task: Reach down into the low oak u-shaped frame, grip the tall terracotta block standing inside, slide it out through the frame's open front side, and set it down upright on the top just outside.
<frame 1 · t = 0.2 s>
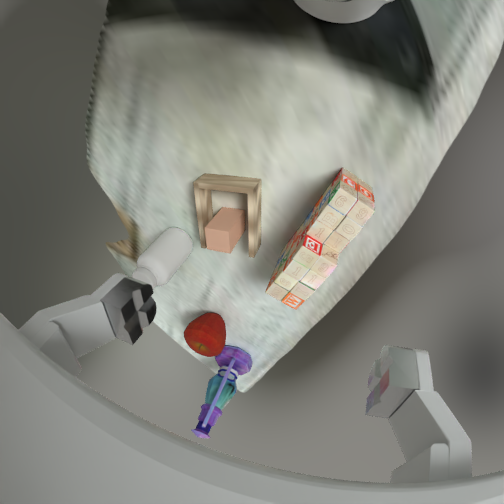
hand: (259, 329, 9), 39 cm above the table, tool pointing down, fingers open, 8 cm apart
terracotta block: (226, 229, 52), in the oak u-shaped frame
lantern: (236, 354, 85), on the table
oak u-shaped frame: (233, 218, 55), on the table
apple: (216, 316, 76), on the table
stack of blocks: (323, 221, 49), on the table
pill bottle: (179, 240, 63), on the table
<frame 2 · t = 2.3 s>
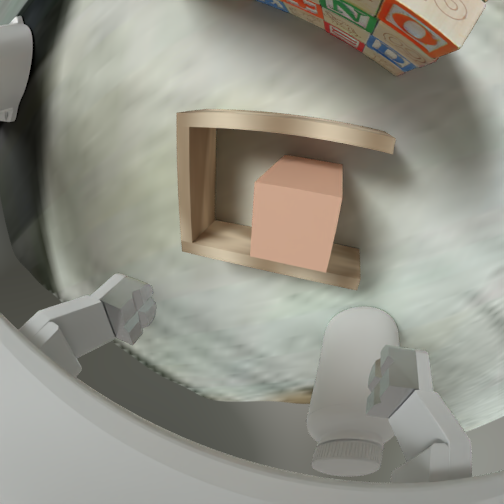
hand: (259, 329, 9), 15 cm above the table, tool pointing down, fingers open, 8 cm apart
terracotta block: (303, 203, 18), in the oak u-shaped frame
oak u-shaped frame: (310, 186, 21), on the table
pill bottle: (361, 331, 27), on the table
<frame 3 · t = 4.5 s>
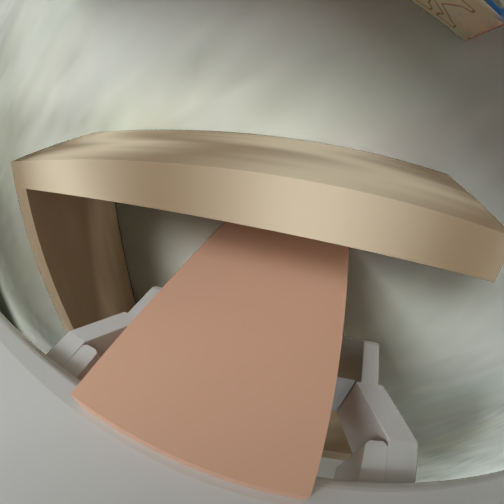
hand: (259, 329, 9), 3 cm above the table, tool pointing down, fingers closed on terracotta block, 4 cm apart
terracotta block: (246, 358, 8), in the oak u-shaped frame, touching gripper
oak u-shaped frame: (279, 282, 11), on the table
pill bottle: (355, 442, 17), on the table
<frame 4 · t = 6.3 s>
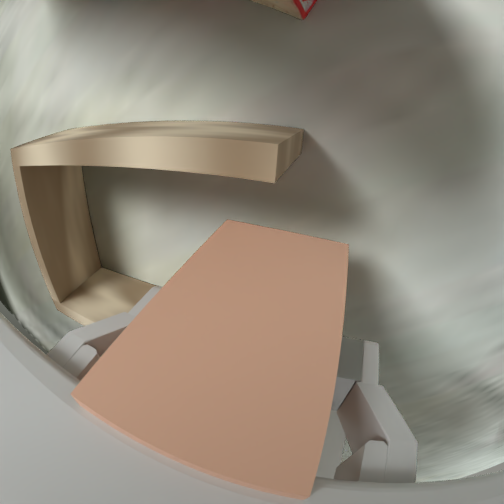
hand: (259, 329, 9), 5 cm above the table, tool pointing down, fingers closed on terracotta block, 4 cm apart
terracotta block: (246, 358, 8), point 6 cm above the table, touching gripper
oak u-shaped frame: (191, 230, 14), on the table
pill bottle: (300, 406, 20), on the table
when the fingers open (4 cm above the table, at t = 8.6 s): terracotta block drops 1 cm, on the table.
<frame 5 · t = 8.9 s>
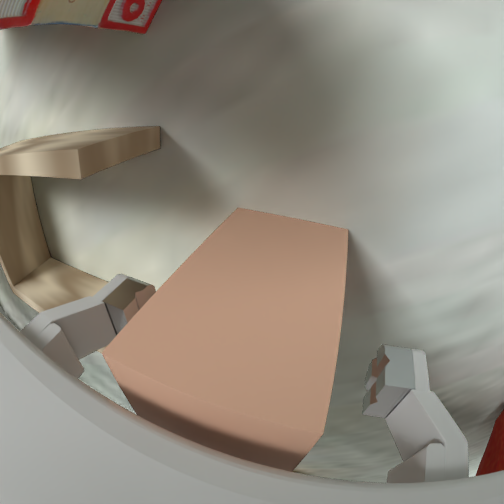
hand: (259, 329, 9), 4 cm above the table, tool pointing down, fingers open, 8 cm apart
terracotta block: (257, 330, 9), on the table
oak u-shaped frame: (99, 223, 15), on the table
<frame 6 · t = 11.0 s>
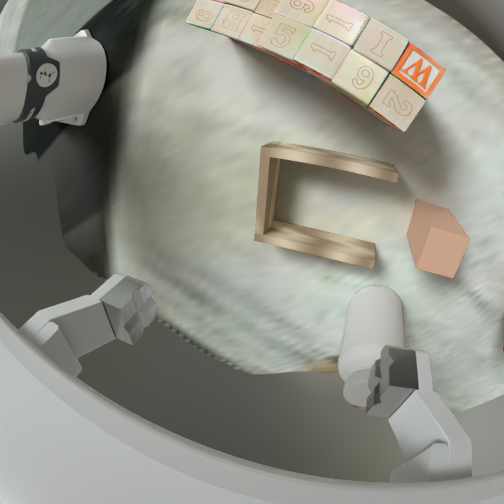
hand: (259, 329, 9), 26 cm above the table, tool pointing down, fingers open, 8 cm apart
terracotta block: (435, 236, 25), on the table
oak u-shaped frame: (343, 199, 31), on the table
stack of blocks: (318, 51, 24), on the table
pill bottle: (374, 306, 37), on the table
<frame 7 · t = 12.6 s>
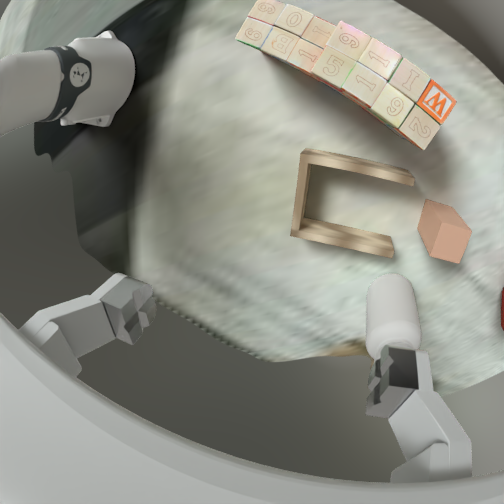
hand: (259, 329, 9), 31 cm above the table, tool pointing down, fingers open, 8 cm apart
terracotta block: (442, 229, 30), on the table
oak u-shaped frame: (364, 199, 36), on the table
stack of blocks: (343, 70, 28), on the table
pill bottle: (389, 291, 41), on the table
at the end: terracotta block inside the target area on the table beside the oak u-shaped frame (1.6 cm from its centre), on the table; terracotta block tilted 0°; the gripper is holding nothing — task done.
